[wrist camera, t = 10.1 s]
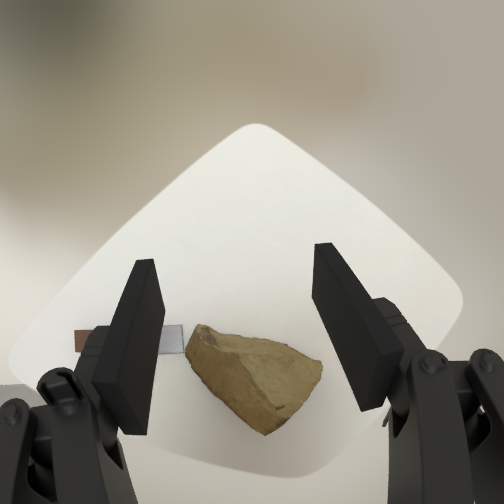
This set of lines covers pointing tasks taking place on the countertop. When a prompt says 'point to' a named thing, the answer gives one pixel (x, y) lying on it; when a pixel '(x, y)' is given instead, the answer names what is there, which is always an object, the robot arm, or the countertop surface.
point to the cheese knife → (168, 344)
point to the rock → (253, 376)
